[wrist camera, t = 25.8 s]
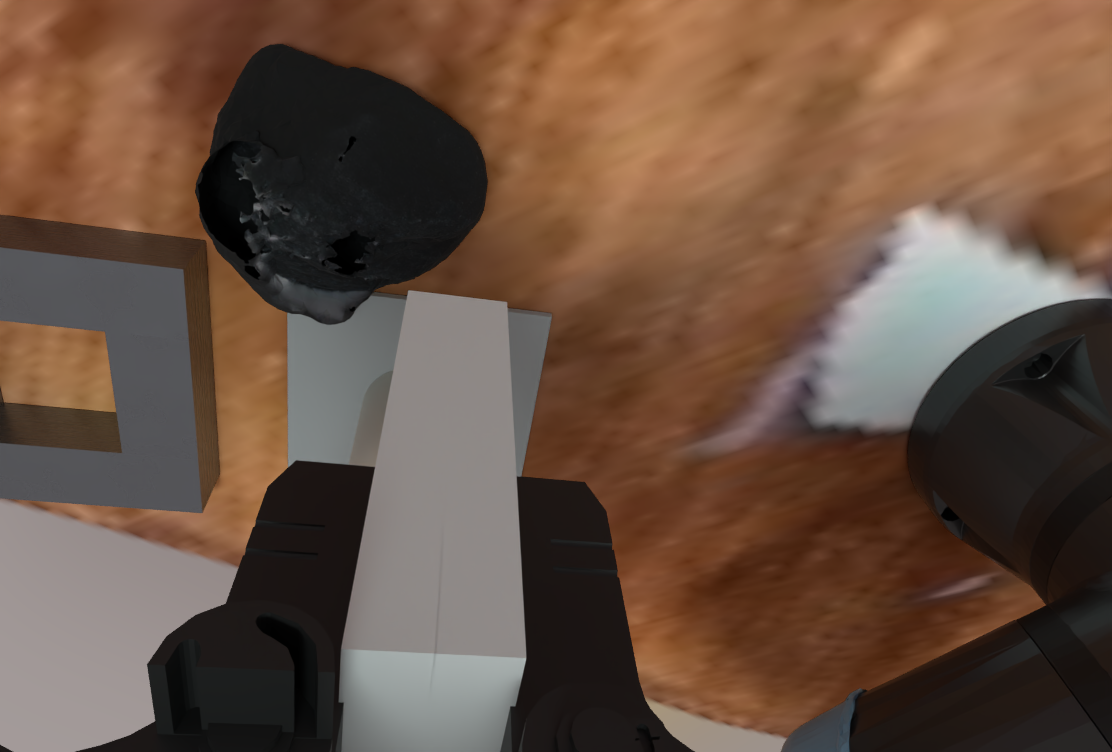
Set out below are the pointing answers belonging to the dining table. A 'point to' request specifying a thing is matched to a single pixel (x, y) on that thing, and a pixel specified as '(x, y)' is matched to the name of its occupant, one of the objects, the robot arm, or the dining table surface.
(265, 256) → the rock
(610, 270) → the dining table surface
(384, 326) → the mat
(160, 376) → the housing
